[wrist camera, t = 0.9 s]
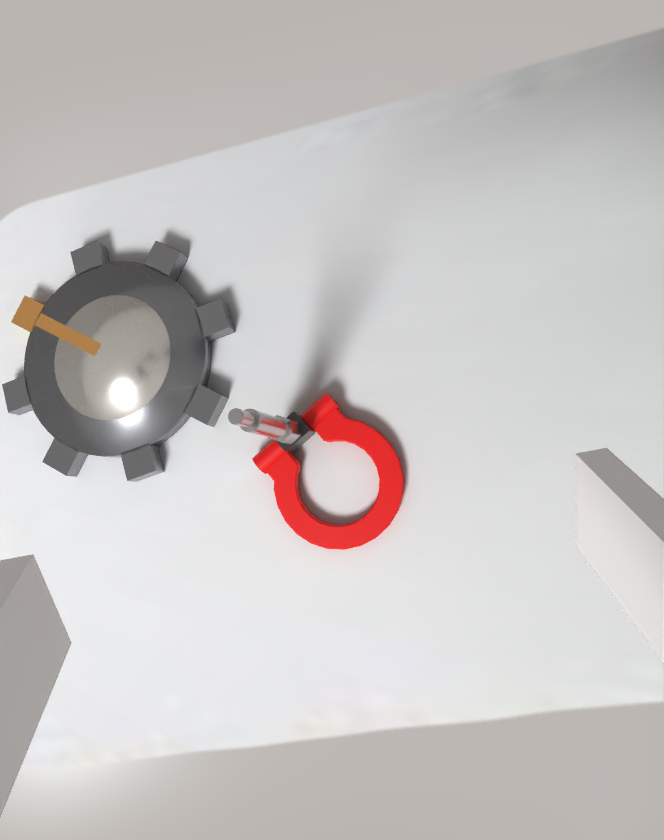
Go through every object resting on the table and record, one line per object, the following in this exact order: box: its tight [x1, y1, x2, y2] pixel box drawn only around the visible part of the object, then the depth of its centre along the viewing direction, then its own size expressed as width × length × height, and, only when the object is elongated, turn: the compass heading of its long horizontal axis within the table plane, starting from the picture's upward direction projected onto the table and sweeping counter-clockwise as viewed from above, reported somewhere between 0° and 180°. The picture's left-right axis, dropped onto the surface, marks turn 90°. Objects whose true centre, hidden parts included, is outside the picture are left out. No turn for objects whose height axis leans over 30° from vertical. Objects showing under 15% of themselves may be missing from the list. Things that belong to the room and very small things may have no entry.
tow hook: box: [228, 393, 404, 549], centre depth 35 cm, size 8×13×9 cm
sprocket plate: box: [2, 241, 235, 481], centre depth 45 cm, size 18×18×1 cm
